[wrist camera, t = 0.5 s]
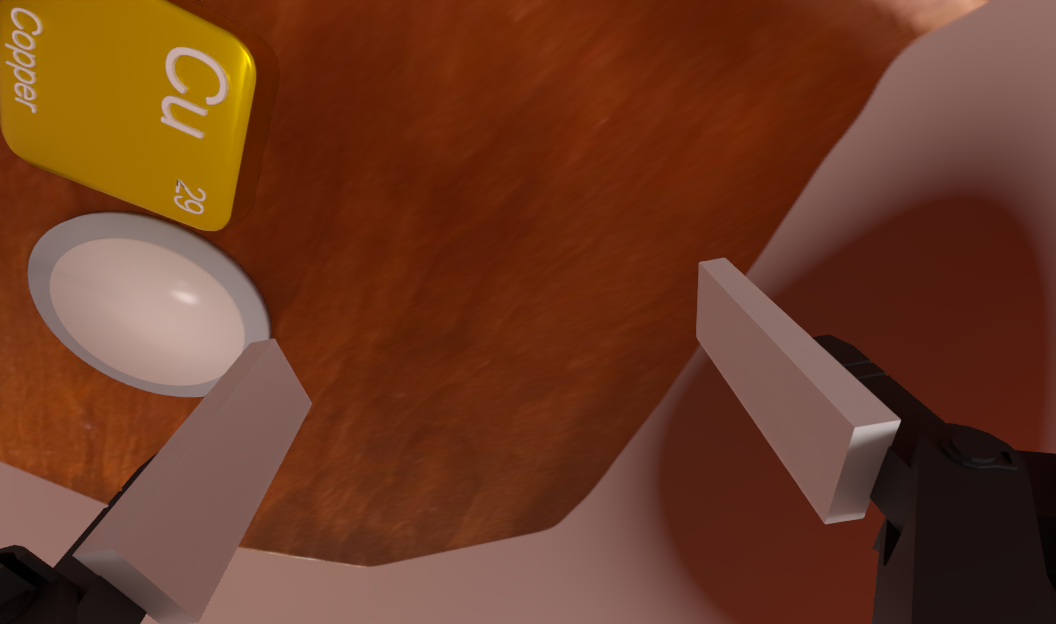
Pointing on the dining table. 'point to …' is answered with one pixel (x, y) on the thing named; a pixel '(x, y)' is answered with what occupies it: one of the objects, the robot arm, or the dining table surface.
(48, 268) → the dish
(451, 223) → the dining table surface
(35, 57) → the element tile
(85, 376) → the dining table surface
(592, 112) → the dining table surface
